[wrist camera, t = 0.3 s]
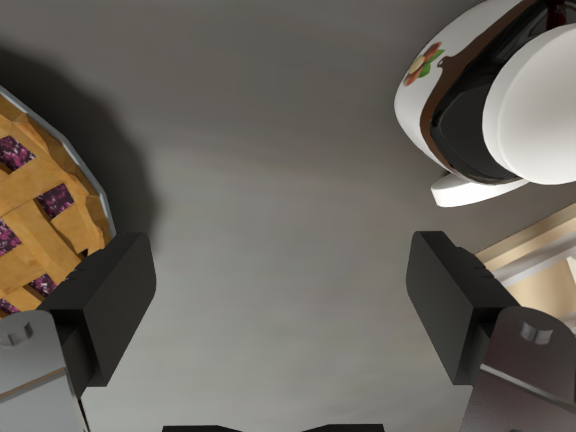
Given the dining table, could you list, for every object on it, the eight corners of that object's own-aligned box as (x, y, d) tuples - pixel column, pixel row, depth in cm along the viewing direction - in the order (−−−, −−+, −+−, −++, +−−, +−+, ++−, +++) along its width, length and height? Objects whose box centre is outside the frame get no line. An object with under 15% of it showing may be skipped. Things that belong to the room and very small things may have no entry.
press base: (461, 361, 38) (476, 385, 36) (414, 285, 34) (427, 306, 31) (671, 266, 34) (706, 285, 31) (650, 164, 29) (689, 176, 27)
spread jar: (478, -22, 23) (647, -73, 13) (571, 95, 27) (763, 131, 16) (349, 123, 27) (397, 176, 17) (445, 210, 31) (535, 299, 20)
